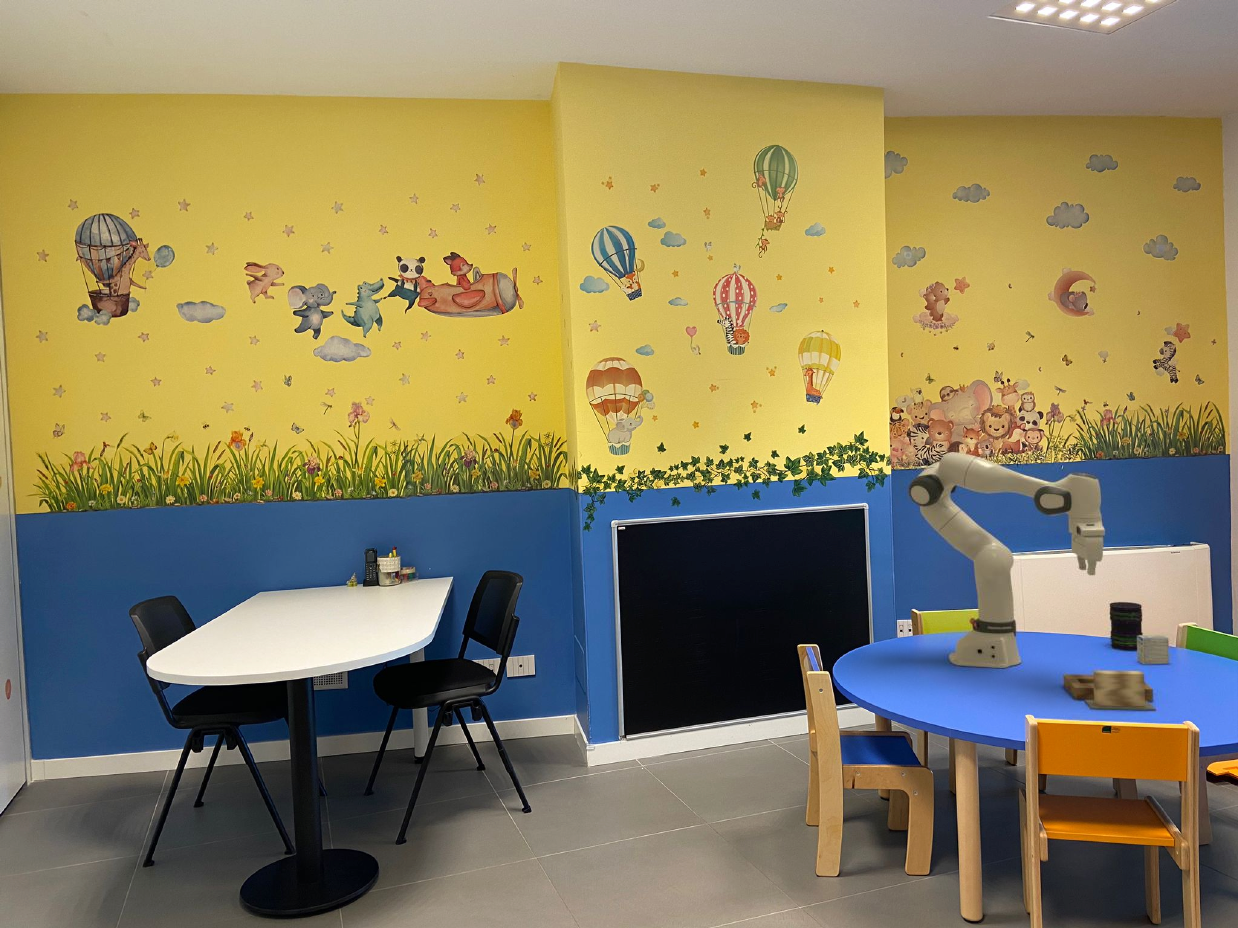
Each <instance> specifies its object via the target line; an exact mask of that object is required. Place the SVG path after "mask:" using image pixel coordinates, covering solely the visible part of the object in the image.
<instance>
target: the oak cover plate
mask: <svg viewBox="0 0 1238 928" xmlns="http://www.w3.org/2000/svg"><path fill="white" fill-rule="evenodd" d="M1092 672H1093V674H1092V675H1093V678H1094V702H1095V703H1096V704H1097V705H1102V706H1145V685H1144V682H1145V674H1144V672H1142V670H1092Z"/></svg>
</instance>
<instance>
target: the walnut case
mask: <svg viewBox="0 0 1238 928" xmlns="http://www.w3.org/2000/svg"><path fill="white" fill-rule="evenodd" d="M1062 677H1063V681H1062V682H1063V687H1064V688H1065V689H1066V690H1067V691H1068V693H1069V694H1070V695H1071V696H1072V698H1073V699H1074V700H1075V701H1085V700H1094V678H1093V674H1072V673H1071V674H1064V673H1063V674H1062ZM1144 685H1145V701H1148V702H1154V689H1153V688H1152V687H1151V686H1150V685H1149V684H1148V683H1146V682H1145V681H1144Z"/></svg>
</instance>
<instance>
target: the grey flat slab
mask: <svg viewBox="0 0 1238 928" xmlns="http://www.w3.org/2000/svg"><path fill="white" fill-rule="evenodd" d="M1084 703H1086V704H1087V706H1088V707H1089V709H1091V710H1101V711H1102V710H1104V711H1105V710H1106V711H1108V710H1109V711H1146V712H1147V711H1150V712H1151V711H1152V712H1153V711H1154V712H1155V711H1157V709H1156V707H1155V706H1153V705H1152V704H1151V703H1150V701H1145V706H1102V705H1097V704H1096V703H1095V702H1094V700H1084Z"/></svg>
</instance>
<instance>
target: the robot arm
mask: <svg viewBox="0 0 1238 928" xmlns="http://www.w3.org/2000/svg"><path fill="white" fill-rule="evenodd" d="M957 486H958V487H961V488H963V489H967V490H969V491H972V492H975V493H982V494H997V493H998V494H999V493H1014V494H1015V493H1016V494H1020V495H1023V496H1025V497H1026V496H1027V497H1030V498H1033V504H1034V506H1035V509H1036V510H1038V512H1040V513H1041V514H1043V515H1046V516H1058V515H1062V514H1063V515H1064V514H1067V515H1068V533H1071V551H1072V553H1073V554H1075V556H1076V558H1077V562H1078V569H1079V570H1080V571H1087V575H1089V576H1095V575H1096V568H1097V562H1098V563H1099V562H1102V560H1103V555H1104V537H1103V536H1106V530H1105V527H1104V526H1103V520H1102V519H1103V517H1102V513H1101V504H1102V497H1101V496H1102V494H1101V487H1100V486H1101V485H1100V482H1099V479H1098V478H1097V477H1096V475H1093V474H1092V473H1091V474H1089V473H1087V472H1086V473H1084V472H1072V473H1071V472H1070V473H1069V474H1068V475H1067V476H1065V477H1064V478H1062V479H1060V480H1057V481H1048V480H1045V479H1042V478H1041V479H1040V478H1038V477H1034V476H1030V475H1028V474H1023V473H1020V472H1018V471H1014V470H1012V469H1009V468H1007V467H1005V466H1002V465H1000V464H998V463H995V462H993V461H990V460H988V459H985V458H982V457H979V456H976V455H972V454H968V453H962V452H955V451H952V452H947V453H945V454H944V455H942V457H941V459H938V460H936V461H934V462H933V463H932V464H930V465H928V466H927V467H925V468H924V469H923V470H922V471H921V473H919V474H918V475H917V476H916V477H914V478H913V479H912V481H911V483H910V484H909V487H908V495H909V497H910V499H911V500H912V502H914V503H915V504H916V505H918V506H920V507H919V510H920V514H921V515H922V516H923V518H924V519H925V520H926V521H927V524H929V525H930V527H932V529H934V530H935V531H936V532H937V533H938V534H939V535H940V537H942V538H943V539H944V540H945V541H946V542H947V543H948V544H949V545H950V546H951V547H952V548H954V550H956V551H958V552H960V553H961V554H963V555H964V556H965V557H967V558H968V559H970V560H971V561H972V562H973V569H974V580H975V586H976V593H977V608H978V610H977V611H978V613H977V615H978V618H976V619H975V618H974V617H971V618H970V619H969V623H970V624H971V625H972V630H970V631H969V632H968V633H966V634H965V635H963V636H962V637H961V638H959V639H958V640H957V643H956V645H955V652H952V653H950V654H949V656H948V660H949V661H950V663H952V664H953V665H956V666H959V667H960V666H961V667H963V666H964V667H978V668H994V669H995V668H998V669H1006V668H1008V667H1011V666H1017V665H1019V664H1021V662H1022V660H1021V657H1020V654H1019V650H1018V645H1017V640H1016V637H1017V622H1016V619H1015V612H1014V611H1015V609H1014V607H1015V606H1014V594H1013V586H1012V579H1011V578H1012V577H1011V570H1012V568H1013V566H1014V561H1015V560H1014V559H1015V558H1014V555H1013V552H1012V551H1011V550H1010V549H1009V547H1007V546H1006V545H1005V544H1004V543H1002V542H1001V541H999V539H998V538H995V536H993V535H992V534H991V533H989V532H988V531H987V530H986V529H984V528H982V527H981V526H980V525H979V524H977V523H976V522H975V521H974V520H973V518H971V517H970V516H969V515H968V514H967V513H966V512H965V511H963V510H962V509H961V508H960V507H959V506H958V505H956V504H955V502H953V500H952V498H951V494H953V493H955V492H956V489H957ZM1086 561H1087V563H1086Z"/></svg>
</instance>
